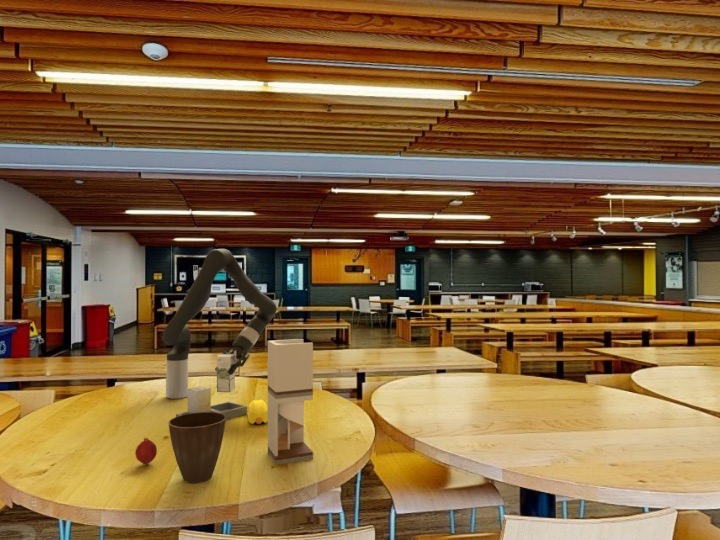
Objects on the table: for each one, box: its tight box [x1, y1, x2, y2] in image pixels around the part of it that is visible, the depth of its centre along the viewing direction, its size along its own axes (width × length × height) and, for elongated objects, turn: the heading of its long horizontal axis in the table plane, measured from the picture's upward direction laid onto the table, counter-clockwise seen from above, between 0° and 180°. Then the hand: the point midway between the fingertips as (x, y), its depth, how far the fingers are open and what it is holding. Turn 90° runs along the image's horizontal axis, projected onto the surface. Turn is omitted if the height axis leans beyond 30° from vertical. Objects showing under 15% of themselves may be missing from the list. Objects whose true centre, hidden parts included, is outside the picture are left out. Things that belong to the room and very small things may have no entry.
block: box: [187, 385, 212, 414], centre depth 184 cm, size 6×6×12 cm
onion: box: [134, 437, 158, 465], centre depth 141 cm, size 6×6×8 cm
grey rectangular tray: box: [175, 401, 248, 421], centre depth 188 cm, size 12×24×3 cm, turn 142°
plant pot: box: [167, 412, 226, 484], centre depth 132 cm, size 15×15×16 cm
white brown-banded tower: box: [267, 338, 314, 465], centre depth 149 cm, size 11×11×35 cm
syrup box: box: [216, 353, 236, 393], centre depth 193 cm, size 6×6×14 cm
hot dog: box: [247, 399, 268, 425], centre depth 187 cm, size 18×7×8 cm
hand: (223, 372), depth 192 cm, fingers closed on syrup box, 8 cm apart
